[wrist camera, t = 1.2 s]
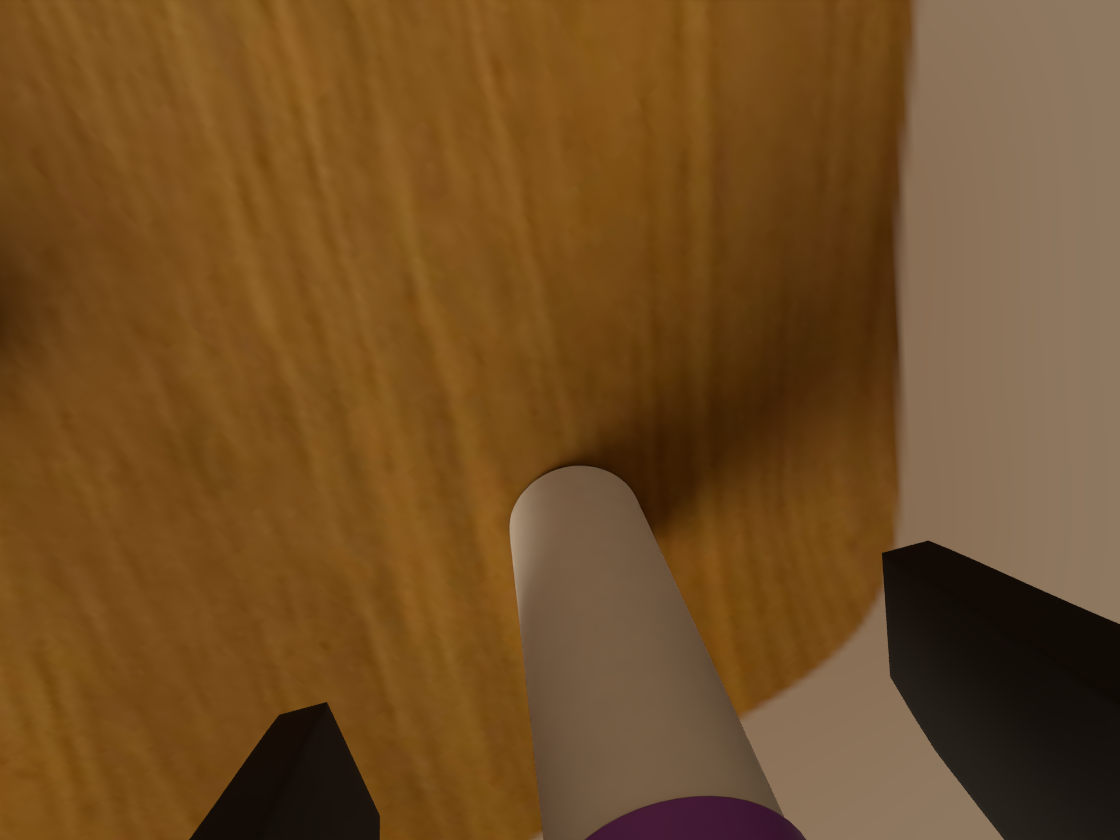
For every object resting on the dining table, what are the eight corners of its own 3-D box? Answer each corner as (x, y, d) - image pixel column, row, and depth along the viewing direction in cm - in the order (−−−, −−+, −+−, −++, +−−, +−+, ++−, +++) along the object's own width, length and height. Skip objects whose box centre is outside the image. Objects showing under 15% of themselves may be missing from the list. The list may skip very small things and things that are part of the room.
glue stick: (657, 565, 14) (944, 1217, 6) (523, 600, 14) (612, 1315, 5) (630, 442, 13) (934, 1015, 5) (486, 480, 13) (527, 1131, 4)
